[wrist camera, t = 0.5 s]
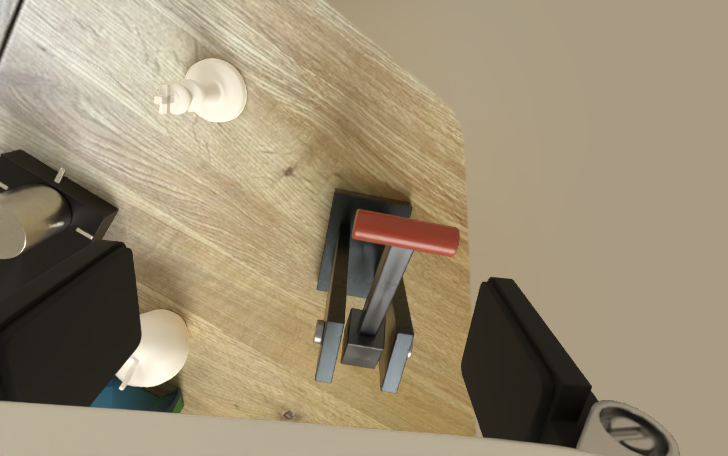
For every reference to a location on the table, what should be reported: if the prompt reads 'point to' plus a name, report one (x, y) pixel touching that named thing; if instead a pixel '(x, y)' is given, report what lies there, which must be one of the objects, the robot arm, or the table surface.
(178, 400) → the sculpture
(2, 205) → the knob
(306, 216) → the table surface
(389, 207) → the lever bracket
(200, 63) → the chess piece
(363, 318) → the lever
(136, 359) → the plain white apple
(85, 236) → the dial panel
